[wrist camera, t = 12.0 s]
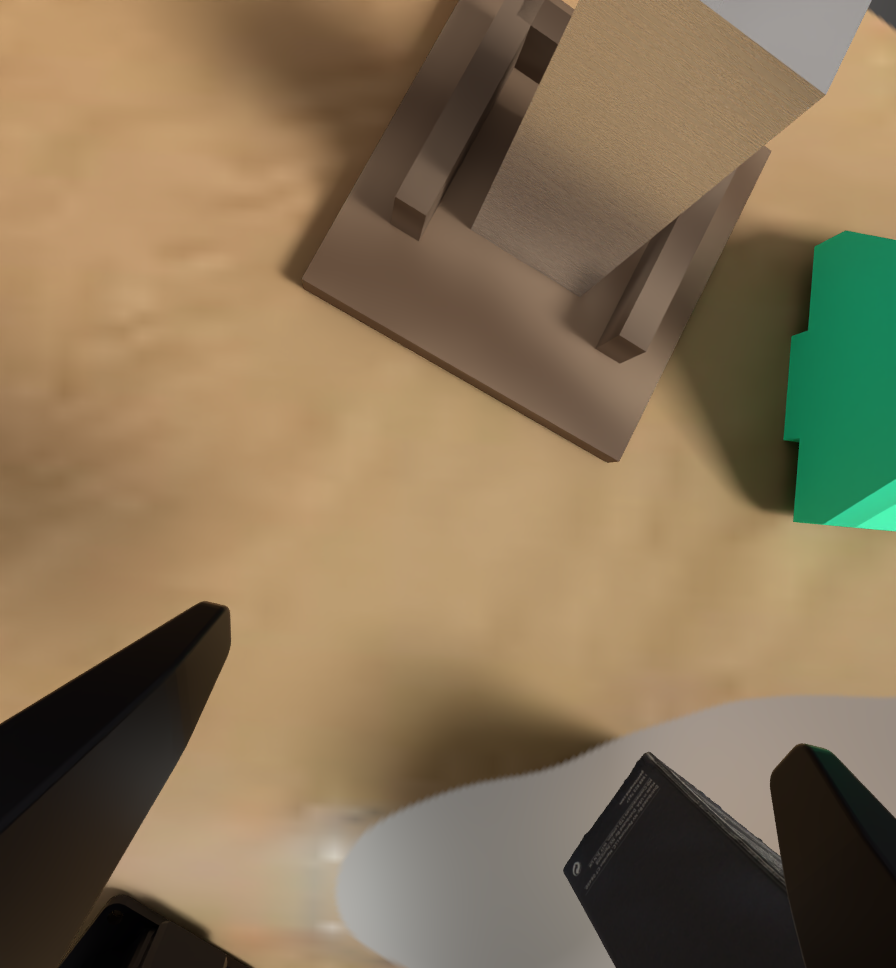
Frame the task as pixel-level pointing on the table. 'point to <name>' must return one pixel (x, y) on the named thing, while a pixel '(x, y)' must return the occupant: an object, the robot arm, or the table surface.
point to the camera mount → (846, 387)
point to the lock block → (653, 121)
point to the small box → (681, 881)
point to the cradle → (492, 271)
